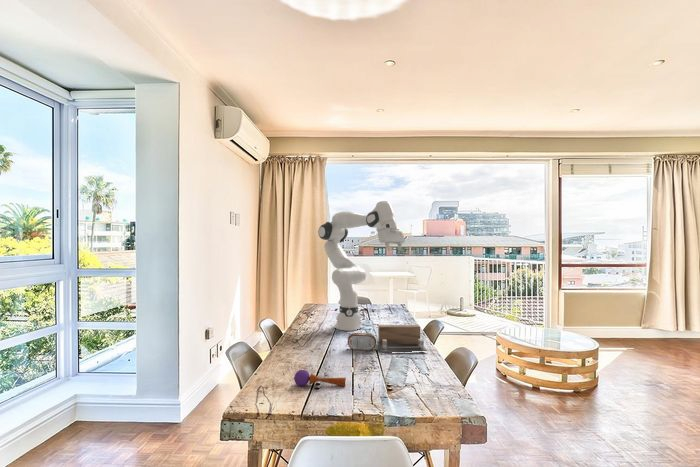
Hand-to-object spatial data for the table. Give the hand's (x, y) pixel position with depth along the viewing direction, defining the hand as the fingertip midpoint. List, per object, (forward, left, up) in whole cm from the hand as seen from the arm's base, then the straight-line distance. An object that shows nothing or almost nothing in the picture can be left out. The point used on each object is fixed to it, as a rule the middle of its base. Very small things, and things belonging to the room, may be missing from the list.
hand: (395, 250), depth 196 cm
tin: (+14, -20, -51) cm, 57 cm away
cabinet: (+12, +1, -51) cm, 53 cm away
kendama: (+57, -41, -52) cm, 87 cm away
